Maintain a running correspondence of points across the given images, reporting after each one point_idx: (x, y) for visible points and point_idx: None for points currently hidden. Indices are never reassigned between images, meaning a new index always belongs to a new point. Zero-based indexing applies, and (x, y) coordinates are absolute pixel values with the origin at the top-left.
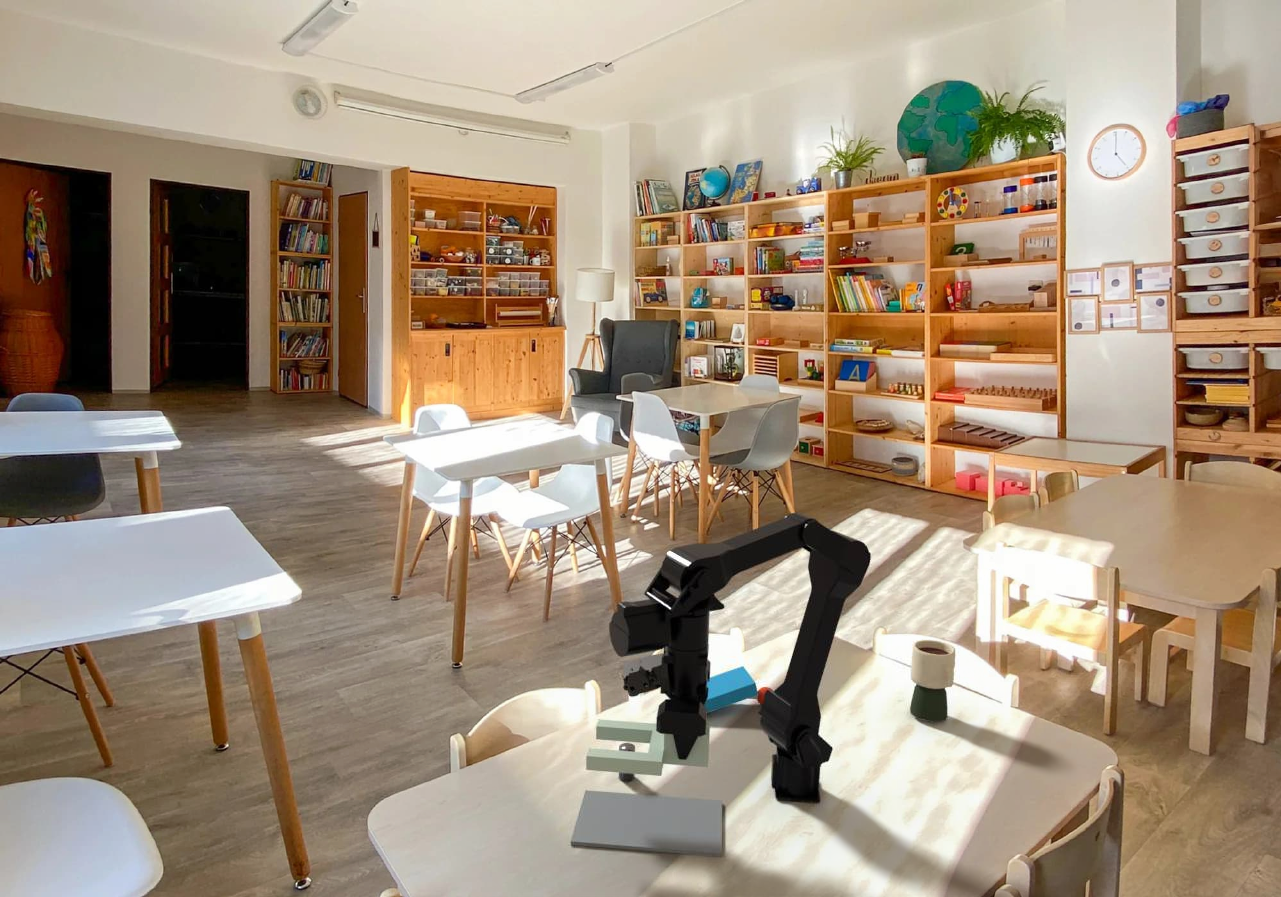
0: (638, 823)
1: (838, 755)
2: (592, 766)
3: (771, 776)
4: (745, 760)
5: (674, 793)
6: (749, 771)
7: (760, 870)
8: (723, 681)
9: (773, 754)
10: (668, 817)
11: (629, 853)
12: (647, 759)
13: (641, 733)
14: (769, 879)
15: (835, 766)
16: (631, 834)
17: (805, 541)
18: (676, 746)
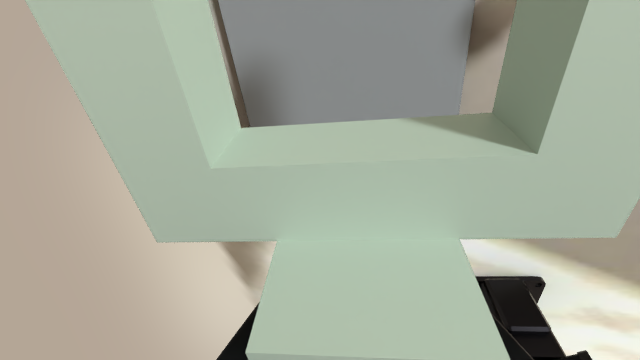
0: (324, 24)
1: (597, 349)
2: None
3: (514, 288)
4: (624, 233)
5: (491, 95)
6: (571, 240)
7: (261, 253)
8: None
9: (549, 331)
10: (366, 101)
11: (214, 23)
12: (137, 175)
13: (545, 52)
14: (246, 262)
15: (560, 343)
16: (270, 15)
17: None
18: (239, 334)
